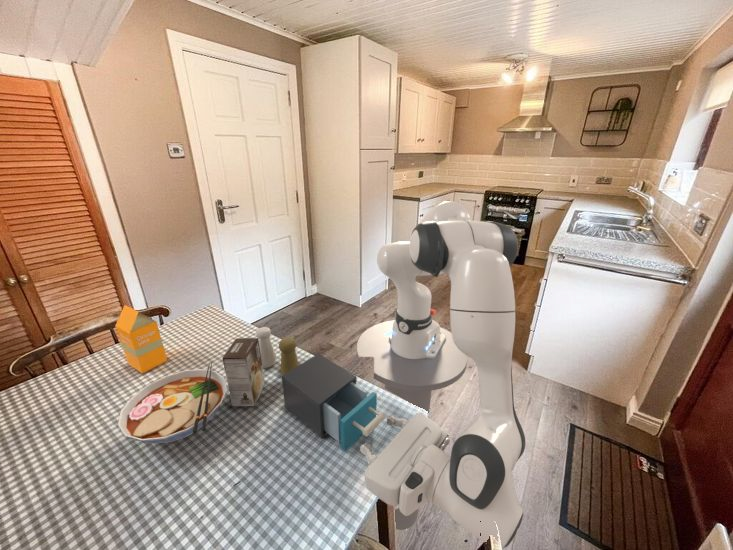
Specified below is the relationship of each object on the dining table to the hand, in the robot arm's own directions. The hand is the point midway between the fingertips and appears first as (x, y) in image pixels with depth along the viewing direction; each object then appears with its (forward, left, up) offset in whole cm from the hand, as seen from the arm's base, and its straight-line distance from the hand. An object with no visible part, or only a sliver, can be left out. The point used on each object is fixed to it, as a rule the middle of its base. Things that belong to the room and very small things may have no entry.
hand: (376, 431), depth 68 cm
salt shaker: (-1, -46, -6) cm, 46 cm away
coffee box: (+10, -38, -6) cm, 40 cm away
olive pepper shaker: (-4, -38, -6) cm, 38 cm away
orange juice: (+24, -76, -6) cm, 80 cm away
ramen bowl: (+26, -42, -6) cm, 50 cm away
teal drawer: (0, -9, -4) cm, 10 cm away
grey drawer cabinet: (0, -19, -5) cm, 20 cm away
